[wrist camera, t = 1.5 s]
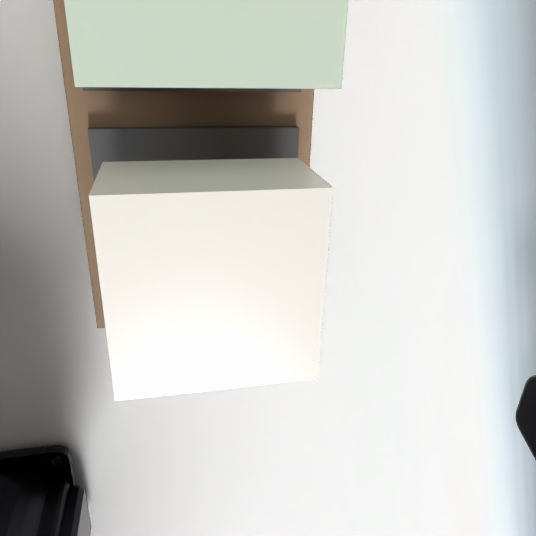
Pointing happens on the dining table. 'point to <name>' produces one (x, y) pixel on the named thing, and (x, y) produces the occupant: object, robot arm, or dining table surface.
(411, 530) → the dining table surface
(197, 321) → the key white
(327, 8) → the key sage
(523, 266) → the dining table surface
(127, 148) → the key panel
